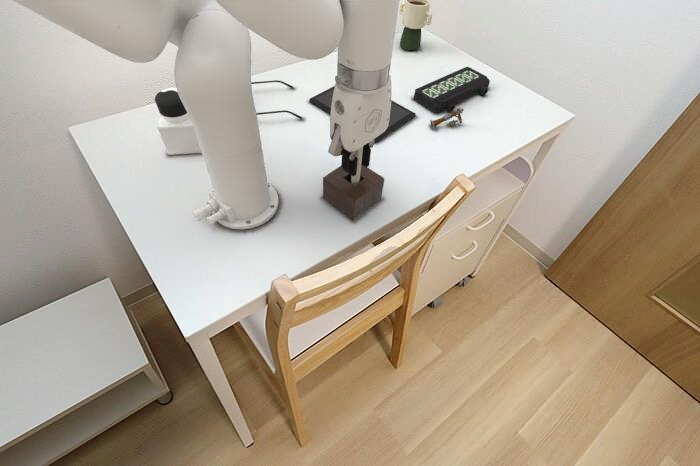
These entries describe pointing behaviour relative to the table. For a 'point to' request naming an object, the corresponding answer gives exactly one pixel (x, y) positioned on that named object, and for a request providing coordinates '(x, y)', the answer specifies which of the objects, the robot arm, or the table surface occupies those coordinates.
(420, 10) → the character mug
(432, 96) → the digital display
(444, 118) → the wooden post with brackets
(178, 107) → the medicine bottle
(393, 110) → the tablet
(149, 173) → the table surface
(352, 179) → the stylus
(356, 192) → the block
